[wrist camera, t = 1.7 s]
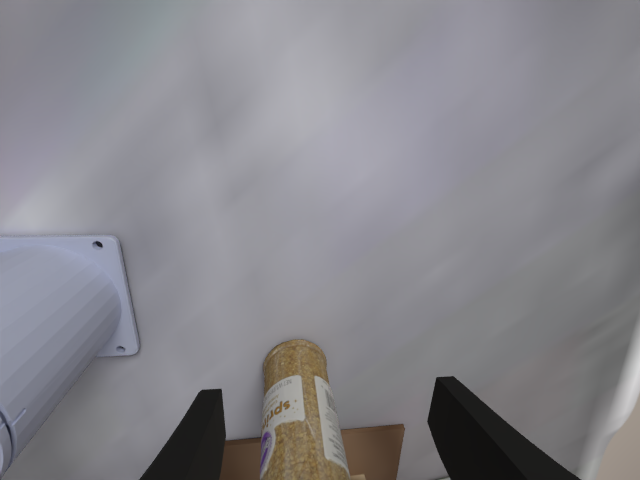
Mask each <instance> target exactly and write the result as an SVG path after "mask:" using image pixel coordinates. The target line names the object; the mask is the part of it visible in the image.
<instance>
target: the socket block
mask: <svg viewBox="0 0 640 480" xmlns="http://www.w3.org/2000/svg"><path fill="white" fill-rule="evenodd" d="M404 430H405V428H404V425H403V424H399V425H389V426H378V427H368V428H357V429H347V430H340V431H341V436H342V441H343V446H344V450H345V455H346V460H347V464H348V469H349V474H350V480H396V477H397V471H398V465H399V459H400V454H401V448H402V442H403V436H404ZM260 460H261V438H252V439H242V440H231V441H225V446H224V453H223V461H222V467H221V474H220V478H219V480H260Z"/></svg>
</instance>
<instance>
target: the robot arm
mask: <svg viewBox="0 0 640 480" xmlns="http://www.w3.org/2000/svg"><path fill="white" fill-rule="evenodd" d="M96 241H99V242H101V243H102V245H103V247H99V246H97V244H96ZM119 346H122V347H124V348H125V349H122V348H120V347H119ZM139 348H140V343H139V338H138V333H137V328H136V323H135V318H134V312H133V307H132V302H131V297H130V292H129V287H128V282H127V277H126V272H125V266H124V261H123V256H122V251H121V246H120V242H119V240H118V239H117V238H116V237H115V236H113V235H41V236H0V480H1V478H2V477H3V475H4V473H5V472H6V470H7V469H8V468H9V467H10V465H11V464H12V463H13V461H14V460H15V459H16V458H17V456H18V455H19V454H20V452H21V451H22V450H23V449H24V447H25V446H26V445H27V443H28V442H29V441H30V440H31V438H32V437H33V436H34V434H35V433H36V432H37V431H38V429H39V428H40V427H41V425H42V424H43V423H44V422H45V420H46V419H47V418H48V416H49V415H50V414H51V413H52V411H53V410H54V409H55V407H56V406H57V405H58V404H59V402H60V401H61V400H62V398H63V397H64V396H65V395H66V393H67V392H68V391H69V389H70V388H71V387H72V386H73V384H74V383H75V382H76V380H77V379H78V378H79V377H80V375H81V374H82V373H83V371H84V370H85V369H86V368H87V366H88V365H89V364H90V362H91V361H92V360H93V359H94V357H108V356H125V355H134V354H136V353H137V351H138V350H139ZM427 422H428V425H429V428H430V431H431V434H432V437H433V439H434V442H435V445H436V448H437V450H438V453H439V455H440V458H441V460H442V462H443V464H444V466H445V468H446V470H447V473H448V475H449V477H450V479H451V480H581V479H579V478H578V477H576V476H575V475H574V474H572V473H571V472H569V471H568V470H567V469H565V468H564V467H562V466H561V465H560V464H558V463H557V462H556V461H554V460H553V459H552V458H551V457H549V456H548V455H547V454H545V453H544V452H543V451H542V450H540V449H539V448H538V447H536V446H535V445H534V444H533V443H531V442H530V441H529V440H528V439H526V438H525V437H524V436H523V435H521V434H520V433H519V432H518V431H516V430H515V429H514V428H513V427H512V426H510V425H509V424H508V423H507V422H506V421H505V420H503V419H502V418H501V417H500V416H499V415H497V414H496V413H495V412H494V411H493V410H492V409H491V408H489V407H488V406H487V405H486V404H485V403H484V402H482V401H481V400H480V399H479V398H478V397H477V396H476V395H474V394H473V393H472V392H471V391H470V390H469V389H468V388H466V387H465V386H464V385H463V384H462V383H461V382H459V381H458V380H457V379H456V378H455V377H453V376H451V377H436V382H435V387H434V392H433V397H432V402H431V406H430V411H429V416H428V421H427ZM225 438H226V432H225V421H224V410H223V399H222V389H210V390H201V391H200V392H199V393H198V395H197V396H196V398H195V400H194V401H193V403H192V405H191V406H190V408H189V410H188V411H187V413H186V414H185V416H184V417H183V419H182V421H181V422H180V424H179V425H178V427H177V428H176V430H175V431H174V433H173V434H172V435H171V437H170V438H169V440H168V441H167V443H166V444H165V445H164V447H163V448H162V450H161V451H160V453H159V454H158V455H157V457H156V458H155V460H154V461H153V462H152V464H151V465H150V466H149V468H148V469H147V470H146V472H145V473H144V474H143V476H142V477H141V478H140V479H139V480H219V478H220V474H221V467H222V461H223V453H224V446H225Z"/></svg>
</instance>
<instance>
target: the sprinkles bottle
mask: <svg viewBox="0 0 640 480" xmlns="http://www.w3.org/2000/svg"><path fill="white" fill-rule="evenodd" d="M326 366H327V363H326V357H325V355H324V353H323V351H322V350H321V349H320V348H319V347H318V346H317V345H315V344H313V343H311V342H309V341H306V340H291V341H288V342H283V343H281V344H280V345H277V346H276V347H275V348H273V349H272V351H271V352H270V353H269V354H268V356H267V357H266V359H265V362H264V367H263V372H264V376H265V380H264V382H265V387H264V400H263V408H262V434H261V460H260V480H350V474H349V469H348V464H347V460H346V455H345V450H344V446H343V441H342V436H341V431H340V426H339V421H338V417H337V412H336V407H335V402H334V398H333V393H332V390H331V388H330V386H329V381H328V376H327V371H326Z"/></svg>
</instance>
